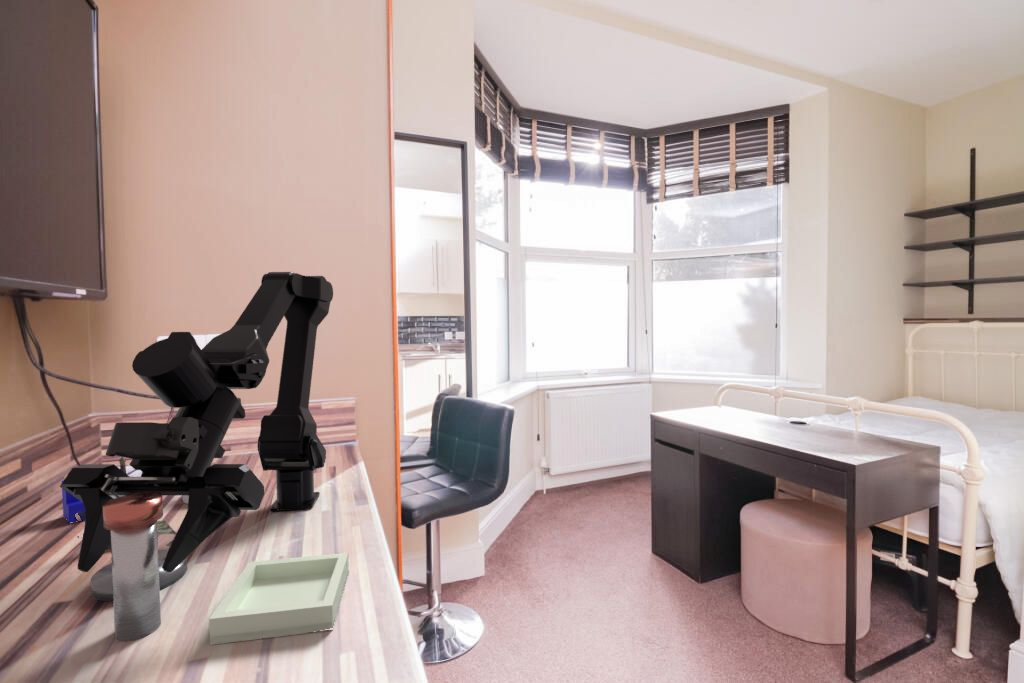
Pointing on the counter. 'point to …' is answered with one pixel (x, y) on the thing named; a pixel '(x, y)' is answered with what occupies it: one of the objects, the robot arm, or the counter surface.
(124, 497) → the pin
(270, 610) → the tray
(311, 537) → the counter surface
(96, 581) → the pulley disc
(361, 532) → the counter surface
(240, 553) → the counter surface
